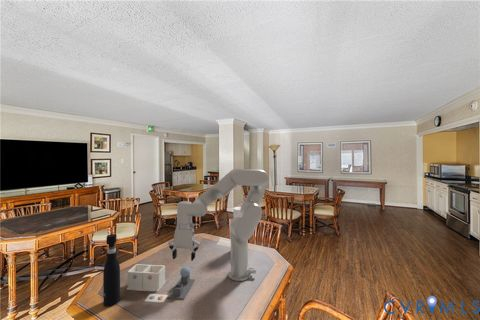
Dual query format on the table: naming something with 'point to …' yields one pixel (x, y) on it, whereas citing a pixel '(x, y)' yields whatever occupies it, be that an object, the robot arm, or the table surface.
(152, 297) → the card
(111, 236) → the wine bottle
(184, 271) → the slate ball
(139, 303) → the table surface
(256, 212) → the robot arm
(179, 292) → the ball stand
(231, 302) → the table surface
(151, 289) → the two-slot cubby shelf
